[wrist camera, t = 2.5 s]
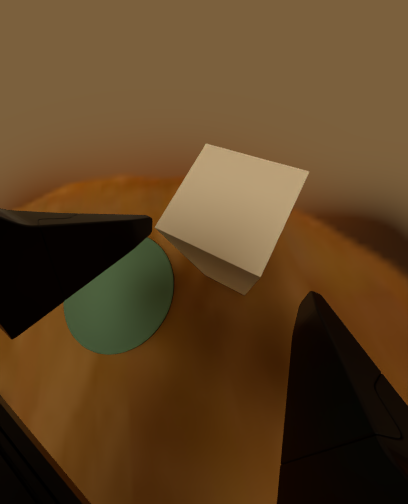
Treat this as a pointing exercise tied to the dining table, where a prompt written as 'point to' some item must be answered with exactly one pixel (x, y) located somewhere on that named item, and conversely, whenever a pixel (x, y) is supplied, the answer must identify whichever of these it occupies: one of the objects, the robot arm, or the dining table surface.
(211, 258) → the cream block
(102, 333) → the green mat
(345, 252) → the dining table surface
